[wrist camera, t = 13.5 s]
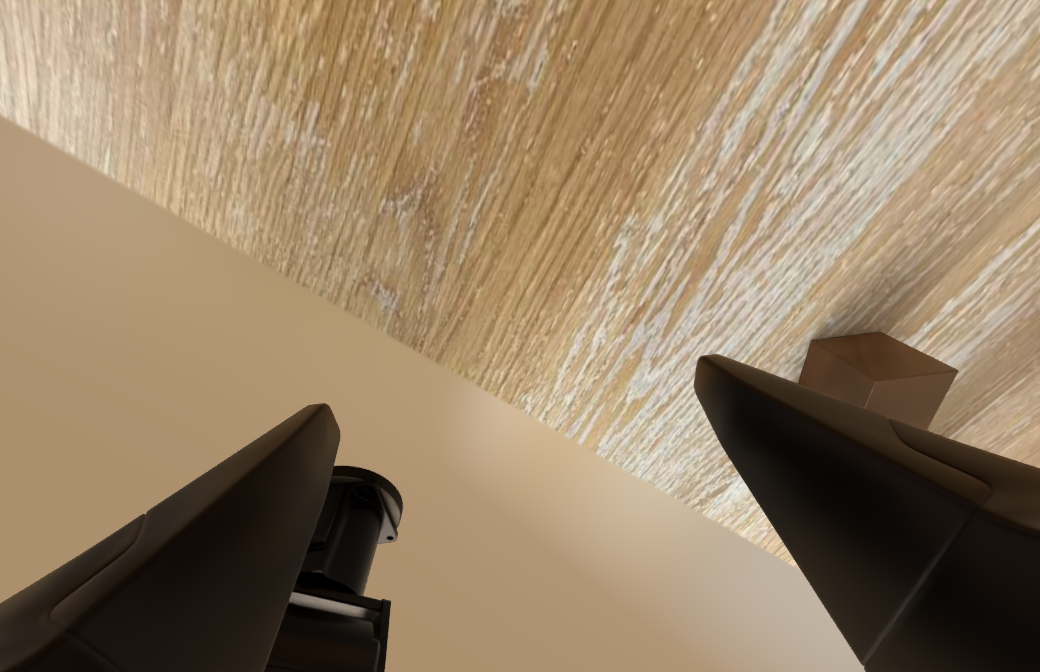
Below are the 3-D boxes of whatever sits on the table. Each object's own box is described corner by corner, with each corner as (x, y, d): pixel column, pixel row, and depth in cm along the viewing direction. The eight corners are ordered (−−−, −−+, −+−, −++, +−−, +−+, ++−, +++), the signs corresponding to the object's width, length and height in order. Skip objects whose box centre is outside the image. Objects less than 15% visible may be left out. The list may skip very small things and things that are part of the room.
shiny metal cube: (857, 389, 26) (924, 434, 22) (793, 397, 26) (849, 444, 22) (881, 331, 24) (959, 370, 20) (811, 340, 24) (876, 381, 20)
